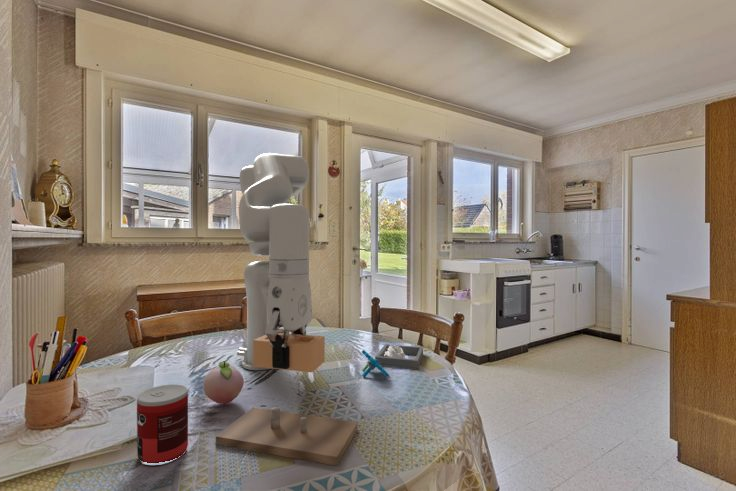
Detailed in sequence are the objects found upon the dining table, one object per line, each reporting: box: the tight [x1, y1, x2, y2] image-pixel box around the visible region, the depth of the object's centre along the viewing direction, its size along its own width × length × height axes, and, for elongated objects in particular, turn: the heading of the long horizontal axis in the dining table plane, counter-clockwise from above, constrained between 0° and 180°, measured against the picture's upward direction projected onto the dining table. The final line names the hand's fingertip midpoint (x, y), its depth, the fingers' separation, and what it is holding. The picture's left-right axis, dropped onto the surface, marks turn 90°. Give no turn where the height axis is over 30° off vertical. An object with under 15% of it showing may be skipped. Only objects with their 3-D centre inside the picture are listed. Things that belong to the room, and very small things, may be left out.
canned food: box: [136, 384, 189, 463], centre depth 64 cm, size 8×8×11 cm
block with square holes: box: [253, 333, 326, 373], centre depth 69 cm, size 12×6×5 cm, turn 75°
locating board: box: [215, 406, 359, 467], centre depth 69 cm, size 24×12×5 cm, turn 75°
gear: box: [361, 349, 390, 379], centre depth 100 cm, size 11×6×10 cm
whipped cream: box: [383, 344, 406, 359], centre depth 115 cm, size 8×7×5 cm
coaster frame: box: [374, 343, 424, 370], centre depth 114 cm, size 13×14×2 cm
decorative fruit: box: [202, 361, 245, 405], centre depth 83 cm, size 9×8×10 cm
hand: (289, 361), depth 69 cm, fingers closed on block with square holes, 6 cm apart
